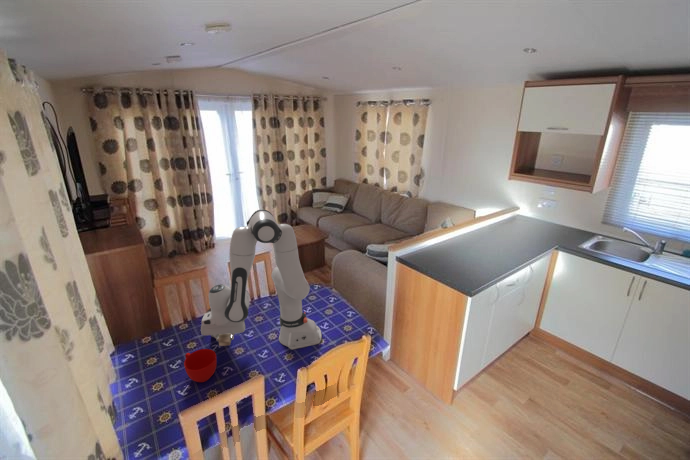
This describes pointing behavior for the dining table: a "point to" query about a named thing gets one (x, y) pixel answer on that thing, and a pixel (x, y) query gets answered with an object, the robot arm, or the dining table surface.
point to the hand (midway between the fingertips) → (225, 339)
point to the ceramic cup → (200, 364)
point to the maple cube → (224, 339)
